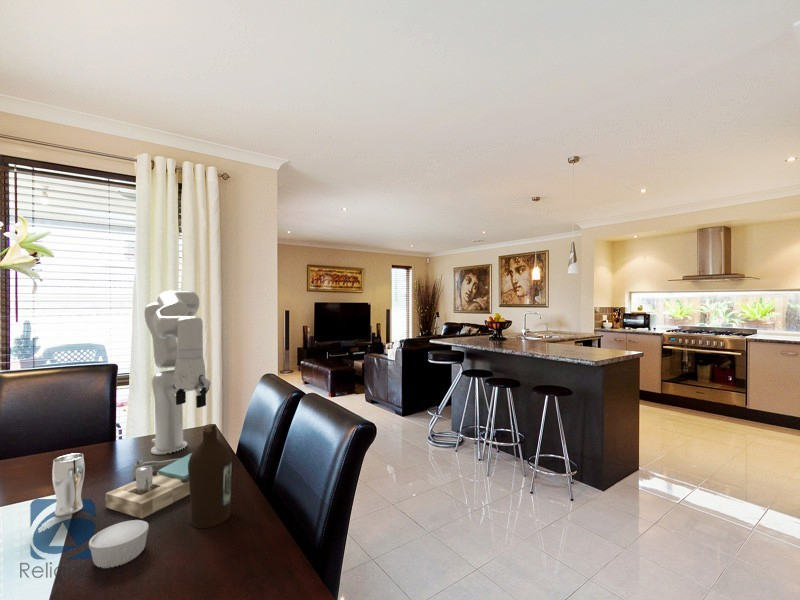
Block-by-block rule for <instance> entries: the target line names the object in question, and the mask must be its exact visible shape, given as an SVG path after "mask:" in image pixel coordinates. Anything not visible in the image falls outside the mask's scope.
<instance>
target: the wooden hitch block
mask: <svg viewBox="0 0 800 600" xmlns="http://www.w3.org/2000/svg"><path fill="white" fill-rule="evenodd" d="M152 486H153V490H152V491H149V492H147V493H145V494H143V495H138V494H136V480H133V481H131V482H129V483H127V484H125V485H123V486H120V487H118V488H115V489H113V490H110V491H108V492H106V493H105V508H106V509H110V510H112V511H113V510H114V511H117V512H120V513H123V514H126V515H129V516H132V517H136V518H139V519H144V518H146V517H147V516H150V515H151V514H154V513H156V512H158V511H159V510H162V509H163V508H165V507H168V506H169V505H172V504H173V503H176V502H177V501H180V500H181V499H183V498H185V497H187V496H190V488H189V477H188V478H185V477H182V478H181V479H180V478H176V477H172V476H167V475H163V474H159V473H158V470H155V469H152Z"/></svg>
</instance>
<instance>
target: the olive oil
mask: <svg viewBox="0 0 800 600" xmlns="http://www.w3.org/2000/svg"><path fill="white" fill-rule="evenodd" d="M202 427H203V428H202V429H203V431H202V438H203V439H202V441H201V443H200V444H199V445H198V446H197V447H196V448H195V449H194V450H193V451H192V452H191V453H192V454H191V456H190V459H189V462H188V475H189V488H190V494H189V500H190V503H189V504H190V519H191V520H190V521H191V526H193V527H194V528H197V529H208V528H213V527H216V526H219V525H221V524H222V523H224V522H226V521H227V520H228V519H229V518H230V516H231V500H232V499H231V497H232V496H231V495H232V493H231V492H232V470H233V469H232V466H233V465H232V464H233V457H232V456H233V455H232V453H231V450H230V449H229V447H228V446H227V445H226V444H224V443H223V442H222V441H221V440H219V439H218V436H217V435H218V430H217V424H215V423H209V424H205V425H203V426H202Z"/></svg>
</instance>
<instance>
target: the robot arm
mask: <svg viewBox="0 0 800 600" xmlns="http://www.w3.org/2000/svg"><path fill="white" fill-rule="evenodd" d="M199 308H200V298H199V296H198V294H197V293H196V292H194V291H192V290H168V291H164V292H162V293H160V294H159V295H158V297H157V300H156V302H153V303H150V304H147V305H146V306H145V308H144V320H145V323H146V325H147V328H148V330H149V332H150V334H151V337H152V346H153V347H152V348H153V358H154V364H155V366H156V367H157V368H159V369H169V370H163V371H160V372H157V373H156V374H154V375H153V377H152V378H151V379H152V380H151V386H152V390H153V391H152V392H153V397H154V414H155V415H154V417H155V420H154V421H155V423H154V424H155V429H154V430H155V438H152V439H151V442H152V443H154V446H152V447H151V449H150V452H151V454H153V455H168V454H167V453H169V454H172V452H174V453H177V452H180V451H182V450H184V449H186V448H187V447H188V442H187V441H185V440H184V426H183V425H184V423H183V422H184V421H183V420H184V417H183V416H184V415H183V414H184V413H183V404H185V403H186V402H187V401H186V399H187V397H186V396H187V394H186V392H187V393H188V392H193V391H195V392H196V394H197V395H196V397H195V401H196V403H195V405H196V409H197V408H198V409H199V408H202V407H206V405H207V394H208V391H209V390H210V387H211V381H210V380H209V379H207V377H206V375H207V373H206V365H205V360H204V346H203V345H204V334H203V333H204V331H203V330H204V329H203V328H204V326H203V323H204V322H203V319H202V318H201V317H198V316H197V315H196V314H197V312H198V310H199ZM171 368H174V369H171ZM186 446H187V447H186ZM185 447H186V448H185ZM183 448H184V449H183ZM181 449H182V450H181ZM179 450H180V451H179ZM176 451H177V452H176Z"/></svg>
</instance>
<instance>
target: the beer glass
mask: <svg viewBox="0 0 800 600" xmlns="http://www.w3.org/2000/svg"><path fill="white" fill-rule="evenodd" d="M85 468H86V467H85V460H84V454H83V453H82V452H81V453H80V452H79V453H70V454H64V455H62V456H59V457H56V458H54V459H53V460H52V471H51V472H52V473H51V475H52V477H51V479H52V485H53V490H54V494H55V498H56V505H55V506H56V507H55V509H54V515H55V516H56V517H66V516H69V515H72V514H75V513H77V512H79V511H81V510H82V509H83V508H84V504H83V500H82V491H83V490H82V489H83V483H84V478H85Z"/></svg>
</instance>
